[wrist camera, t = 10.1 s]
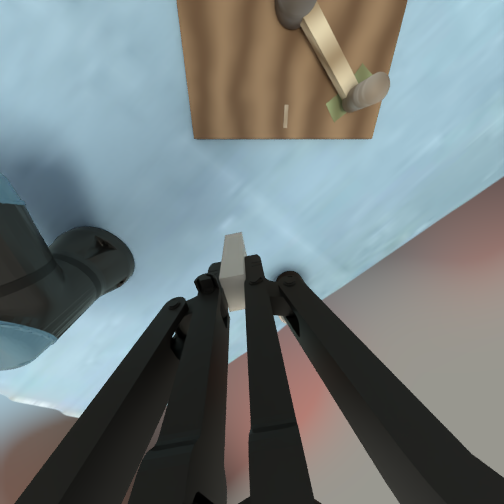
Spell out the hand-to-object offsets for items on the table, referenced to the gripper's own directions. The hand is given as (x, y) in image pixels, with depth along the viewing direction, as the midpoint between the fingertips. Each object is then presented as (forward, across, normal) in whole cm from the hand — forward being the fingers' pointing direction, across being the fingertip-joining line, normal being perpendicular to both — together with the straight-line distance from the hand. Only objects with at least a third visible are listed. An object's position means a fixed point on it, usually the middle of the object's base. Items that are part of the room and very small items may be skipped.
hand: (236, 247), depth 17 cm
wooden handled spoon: (+20, -16, -17) cm, 31 cm away
